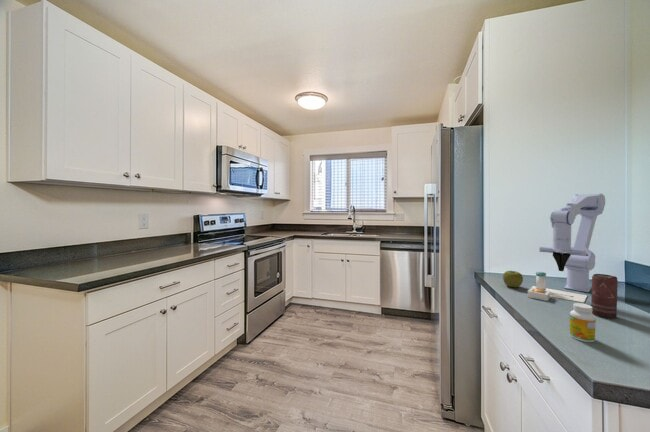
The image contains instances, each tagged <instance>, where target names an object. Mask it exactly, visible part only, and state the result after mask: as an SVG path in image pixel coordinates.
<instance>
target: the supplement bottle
mask: <svg viewBox="0 0 650 432" xmlns="http://www.w3.org/2000/svg"><path fill="white" fill-rule="evenodd" d="M572 308H573V310H571V311H569V336H570V337H571V338H572V339H575V340H578V341H580V342H584V343H594V342H595V341H596V322H597V321H596V320H597V319H596V315H594V314H592V306H591V305H589V304H586V303H581V302H574V303H573V305H572Z"/></svg>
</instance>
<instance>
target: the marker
mask: <svg viewBox="0 0 650 432" xmlns="http://www.w3.org/2000/svg"><path fill="white" fill-rule="evenodd" d="M546 277H547V272H543V271H536V272H535V278H536V287H537V289H542V290H546V288H547V285H546V284H547V283H546V281H547V280H546V279H547V278H546Z"/></svg>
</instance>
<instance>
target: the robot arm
mask: <svg viewBox="0 0 650 432" xmlns="http://www.w3.org/2000/svg"><path fill="white" fill-rule="evenodd" d="M605 206H606V196H605V195H604V194H603V193H592V194H591V193H586V194H585V193H584V194H574V195H573V196H572V200H571V202H567V203H566V204H565V205H564V206H562V207H561V208H560V209H559V210H554V211H552V212H551V214H550V216H549V218H550V223H551V228H552V247H546V246H545V247H544V246H540V247H539V253H551V254H552V257H553V258H554V260H555V262H556V266H557V269H558V272H564V271H565V269H566V284H565V285H564V287H563V288H564V289H568V290H573V291H579V292H585V293H590V291H591V290H592V286H591V285H590V271H592V270H594V269H595V266H596V255H595V252H593V251H592V250H591V249H589V248H590V244H591V239H592V236H593V232H594V228H595V226H596V221H597V218H598V217H599V216H600V215H602V214H603V212H604V210H605ZM578 215H580V216H581V218H580V221H579V226H578V229H577V233H576V238H575V241H574V244H573V246H572V225H573V224H574V223H575V220H576V217H577V216H578Z"/></svg>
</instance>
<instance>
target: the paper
mask: <svg viewBox="0 0 650 432" xmlns="http://www.w3.org/2000/svg"><path fill="white" fill-rule="evenodd" d="M531 288H536V289H537V287H536V286H535V285H532V286H531V287H530V288H529V289H528V290H530V289H531ZM528 290H527V291H526V292H527V293H528ZM546 290H547V291H551V297H550V298H555V299H561V300H566V301H571V302H575V303H582V304H585V301H586V300H587V297H588V295H586V294H582V293H576V292H569V291H565V290H564V291H563V290H559V289H553V288H552V289H551V288H548V287H546Z"/></svg>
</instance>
